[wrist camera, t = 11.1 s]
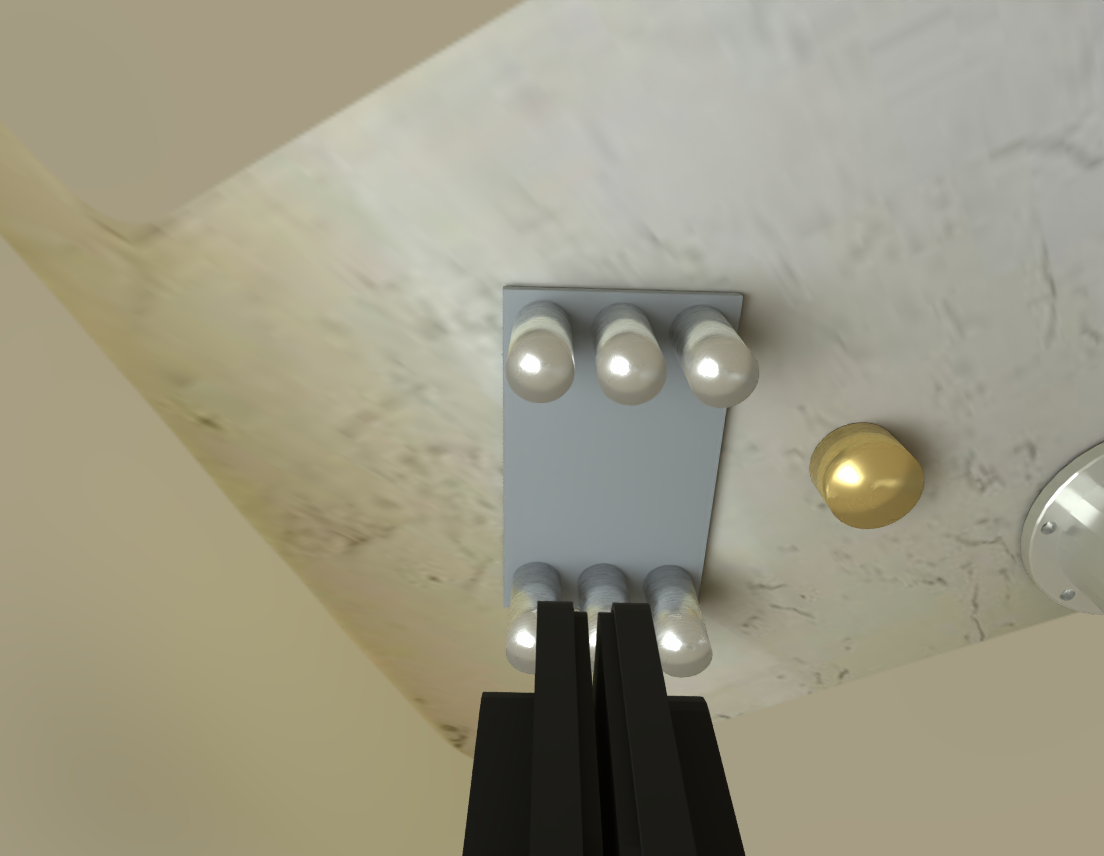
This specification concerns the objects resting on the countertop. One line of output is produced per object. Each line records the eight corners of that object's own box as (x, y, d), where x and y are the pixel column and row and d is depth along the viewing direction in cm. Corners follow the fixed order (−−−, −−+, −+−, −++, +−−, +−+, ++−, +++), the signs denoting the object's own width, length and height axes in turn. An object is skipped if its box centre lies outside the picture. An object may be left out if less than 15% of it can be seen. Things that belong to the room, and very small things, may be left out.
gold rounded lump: (906, 421, 39) (932, 446, 36) (890, 498, 41) (914, 527, 38) (815, 424, 39) (835, 449, 36) (804, 501, 41) (822, 530, 38)
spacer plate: (740, 292, 36) (743, 296, 35) (694, 605, 44) (696, 611, 44) (503, 286, 35) (502, 289, 35) (504, 600, 44) (503, 607, 44)
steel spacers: (731, 305, 35) (764, 344, 30) (689, 604, 43) (708, 677, 38) (512, 299, 35) (505, 337, 30) (511, 600, 43) (505, 673, 38)
